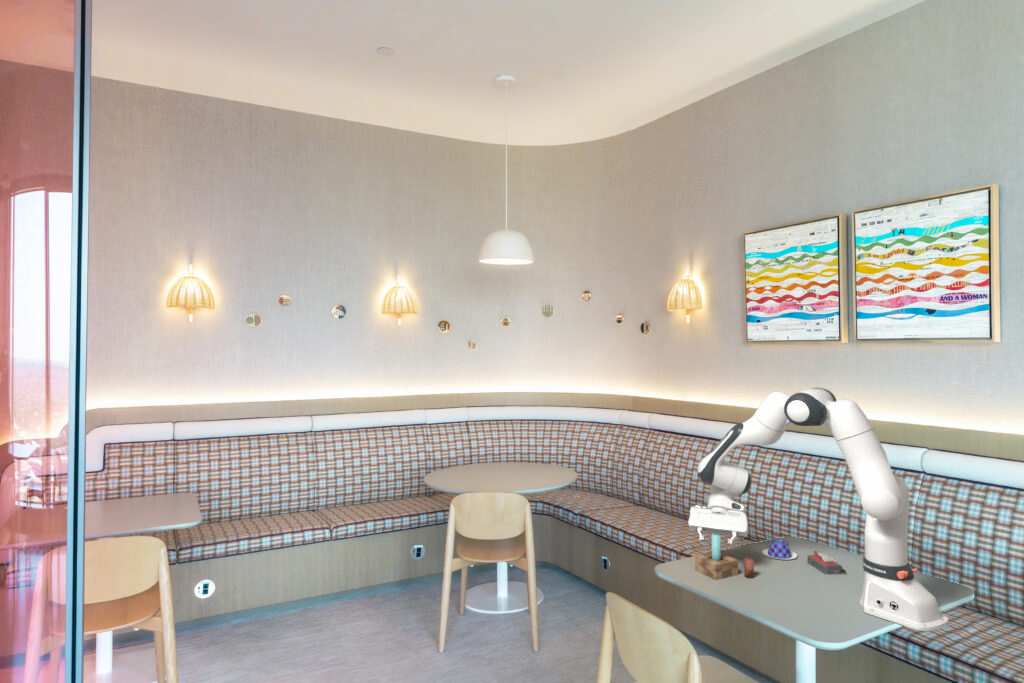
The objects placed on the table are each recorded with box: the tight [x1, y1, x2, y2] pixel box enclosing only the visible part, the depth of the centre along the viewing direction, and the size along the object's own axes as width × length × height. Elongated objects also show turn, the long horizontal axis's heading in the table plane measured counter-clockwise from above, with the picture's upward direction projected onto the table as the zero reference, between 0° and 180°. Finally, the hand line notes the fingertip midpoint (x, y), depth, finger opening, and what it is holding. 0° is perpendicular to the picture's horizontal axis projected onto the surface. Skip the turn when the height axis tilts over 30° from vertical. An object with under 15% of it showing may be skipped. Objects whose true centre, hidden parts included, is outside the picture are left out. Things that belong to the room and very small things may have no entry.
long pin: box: [711, 533, 722, 561], centre depth 213 cm, size 3×3×13 cm
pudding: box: [761, 539, 798, 561], centre depth 228 cm, size 12×12×5 cm
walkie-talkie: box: [807, 550, 846, 575], centre depth 218 cm, size 9×4×20 cm
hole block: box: [694, 551, 739, 581], centre depth 213 cm, size 10×10×5 cm
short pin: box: [743, 557, 755, 579], centre depth 208 cm, size 3×3×6 cm
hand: (715, 543), depth 212 cm, fingers open, 8 cm apart
